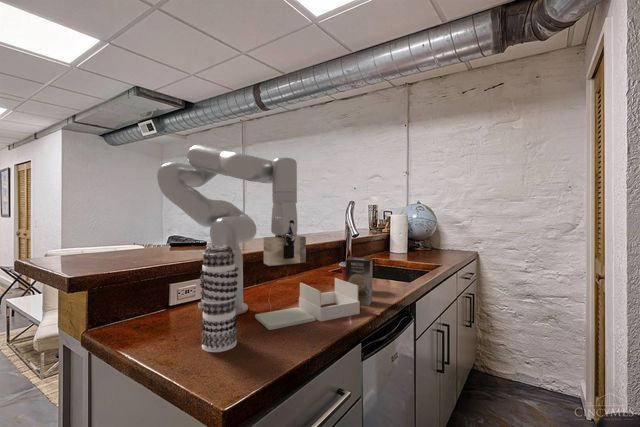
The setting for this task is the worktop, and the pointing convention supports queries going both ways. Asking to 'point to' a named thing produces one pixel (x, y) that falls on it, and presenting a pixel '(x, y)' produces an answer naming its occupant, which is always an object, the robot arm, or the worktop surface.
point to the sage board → (284, 318)
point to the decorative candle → (218, 299)
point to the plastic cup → (343, 270)
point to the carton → (330, 301)
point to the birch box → (276, 251)
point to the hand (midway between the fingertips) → (284, 256)
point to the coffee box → (360, 277)
